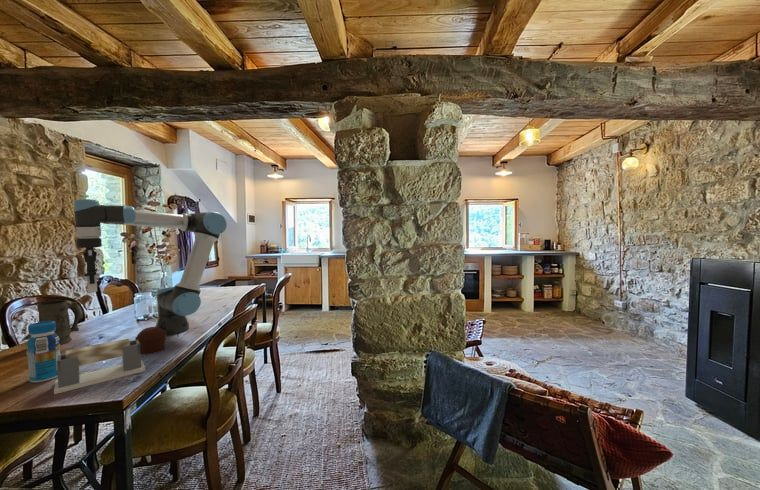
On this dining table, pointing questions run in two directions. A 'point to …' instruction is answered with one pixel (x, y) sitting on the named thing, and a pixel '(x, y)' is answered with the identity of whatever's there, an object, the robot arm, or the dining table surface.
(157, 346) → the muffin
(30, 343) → the beverage bottle
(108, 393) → the dining table surface
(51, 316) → the beer stein
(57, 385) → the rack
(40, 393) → the dining table surface
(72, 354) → the rail
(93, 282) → the robot arm
